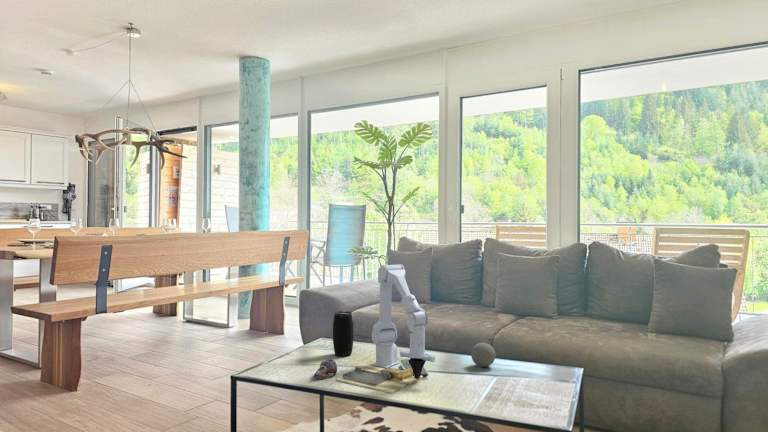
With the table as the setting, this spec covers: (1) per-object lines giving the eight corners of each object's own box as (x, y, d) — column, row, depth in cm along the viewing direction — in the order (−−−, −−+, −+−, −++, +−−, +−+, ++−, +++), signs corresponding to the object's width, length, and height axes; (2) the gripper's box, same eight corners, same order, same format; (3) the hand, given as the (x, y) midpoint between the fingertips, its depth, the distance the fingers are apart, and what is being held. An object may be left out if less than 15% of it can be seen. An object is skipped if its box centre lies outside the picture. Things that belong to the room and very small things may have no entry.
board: (369, 367, 219) (369, 365, 219) (423, 377, 204) (423, 376, 204) (336, 380, 201) (336, 379, 201) (392, 393, 186) (392, 391, 186)
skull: (320, 382, 199) (320, 366, 199) (306, 378, 204) (306, 363, 204) (341, 374, 209) (341, 359, 209) (327, 371, 213) (326, 356, 214)
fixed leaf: (356, 371, 210) (356, 365, 210) (391, 379, 200) (391, 372, 200) (341, 378, 202) (341, 371, 202) (377, 386, 192) (377, 379, 192)
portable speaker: (330, 353, 241) (330, 311, 241) (350, 351, 244) (349, 310, 244) (336, 358, 233) (336, 314, 233) (356, 356, 236) (355, 312, 236)
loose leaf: (388, 370, 212) (388, 362, 212) (413, 375, 205) (413, 367, 205) (376, 375, 205) (376, 367, 205) (402, 380, 198) (402, 372, 198)
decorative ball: (500, 367, 217) (500, 343, 218) (483, 371, 212) (483, 346, 212) (483, 362, 226) (483, 339, 226) (466, 365, 220) (466, 342, 220)
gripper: (395, 342, 200) (395, 377, 200) (428, 347, 192) (428, 384, 192) (405, 338, 206) (405, 372, 206) (437, 343, 198) (437, 379, 198)
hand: (417, 378), depth 199 cm, fingers closed
